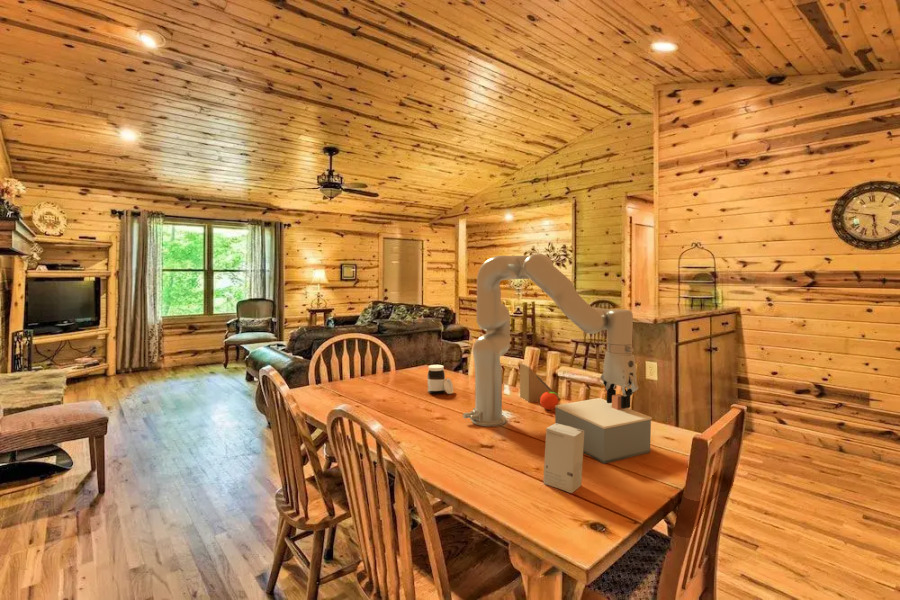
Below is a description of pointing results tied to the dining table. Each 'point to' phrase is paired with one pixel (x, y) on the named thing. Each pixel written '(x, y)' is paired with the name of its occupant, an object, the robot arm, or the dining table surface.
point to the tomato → (549, 400)
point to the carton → (609, 438)
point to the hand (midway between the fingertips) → (618, 404)
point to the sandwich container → (531, 385)
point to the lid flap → (603, 412)
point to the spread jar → (438, 380)
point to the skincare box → (563, 457)
